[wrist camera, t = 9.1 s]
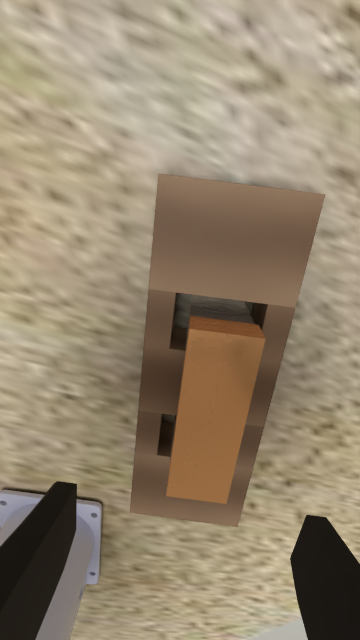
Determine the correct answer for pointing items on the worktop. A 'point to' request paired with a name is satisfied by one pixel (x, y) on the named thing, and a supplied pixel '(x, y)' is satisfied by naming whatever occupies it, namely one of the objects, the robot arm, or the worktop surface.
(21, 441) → the worktop surface
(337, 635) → the robot arm
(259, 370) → the brown wooden peg board
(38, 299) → the worktop surface
